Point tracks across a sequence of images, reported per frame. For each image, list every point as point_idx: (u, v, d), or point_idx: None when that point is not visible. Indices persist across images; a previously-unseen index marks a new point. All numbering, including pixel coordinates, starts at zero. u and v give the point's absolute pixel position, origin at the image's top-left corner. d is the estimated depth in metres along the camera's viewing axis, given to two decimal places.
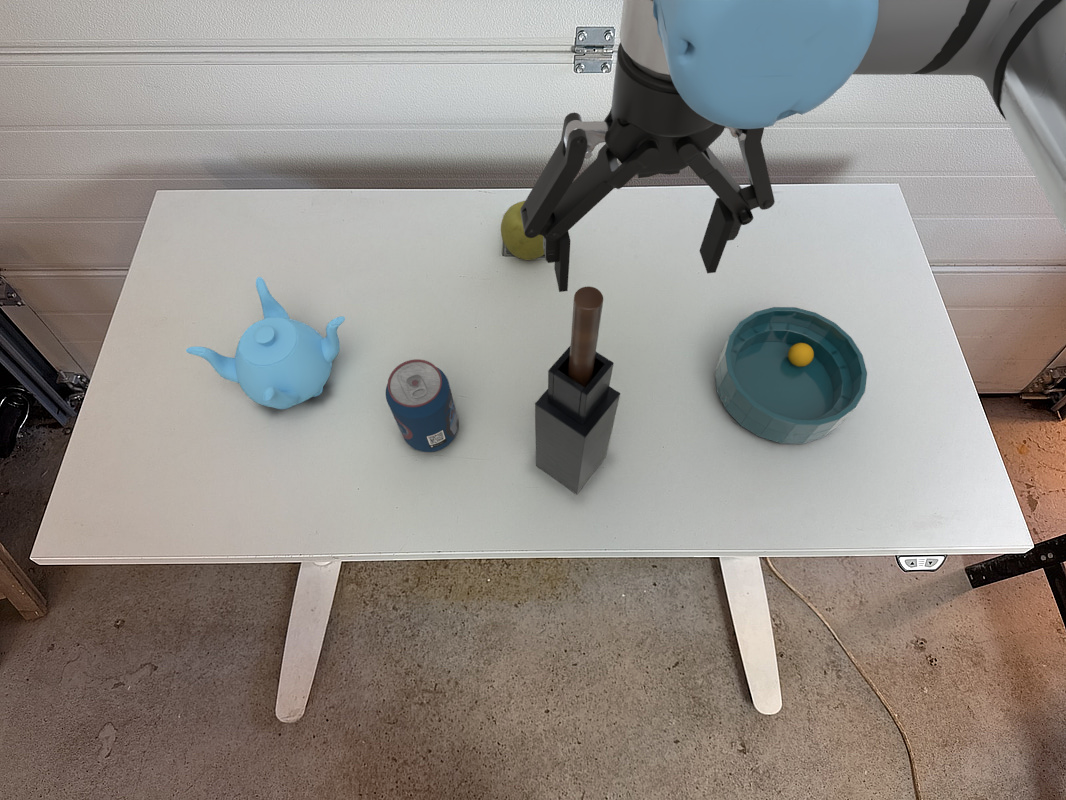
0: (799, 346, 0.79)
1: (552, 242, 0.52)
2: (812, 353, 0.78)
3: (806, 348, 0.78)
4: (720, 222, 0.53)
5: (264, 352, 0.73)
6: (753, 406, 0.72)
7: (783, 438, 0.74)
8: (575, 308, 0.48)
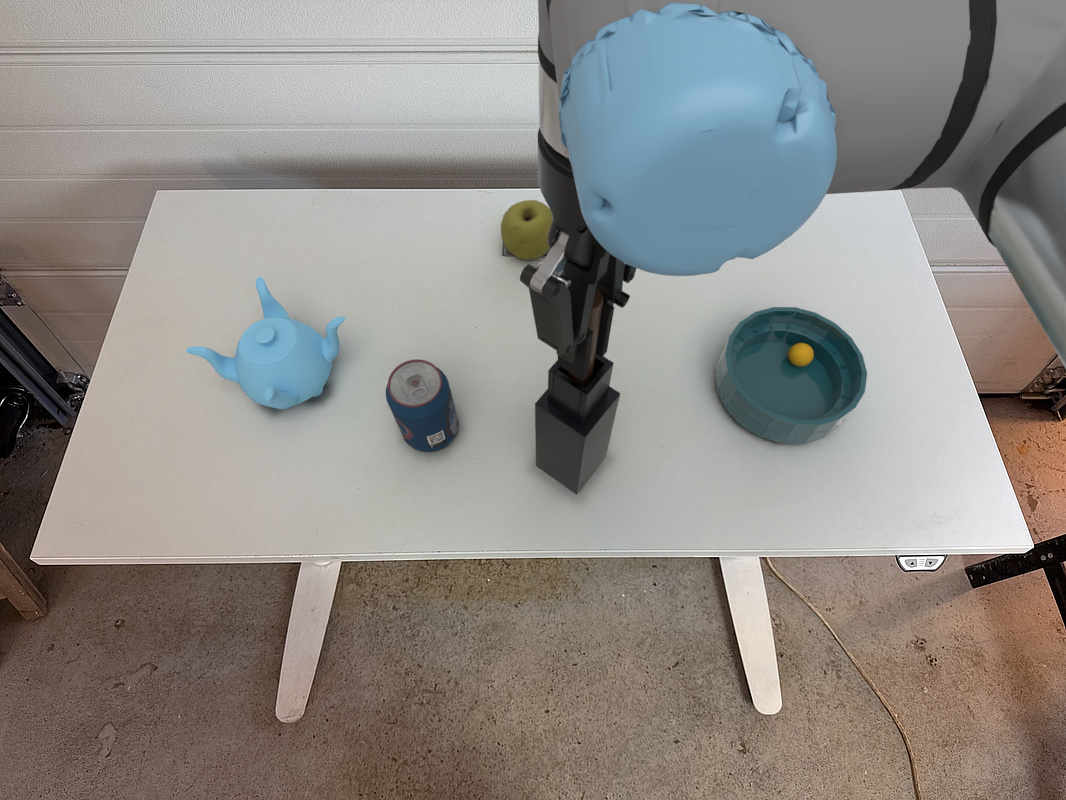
0: (799, 346, 0.79)
1: (576, 343, 0.49)
2: (812, 353, 0.78)
3: (806, 348, 0.78)
4: None
5: (264, 352, 0.73)
6: (753, 406, 0.72)
7: (783, 438, 0.74)
8: None
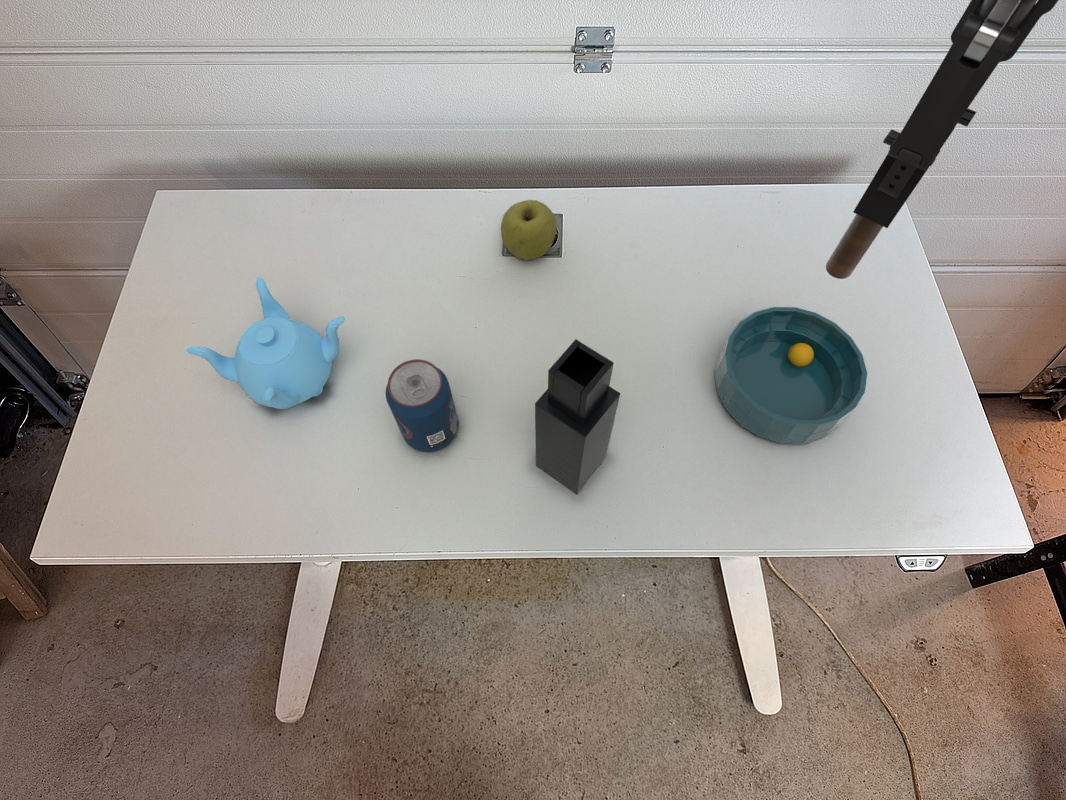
0: (799, 346, 0.79)
1: None
2: (812, 353, 0.78)
3: (806, 348, 0.78)
4: None
5: (264, 352, 0.73)
6: (753, 406, 0.72)
7: (783, 438, 0.74)
8: None
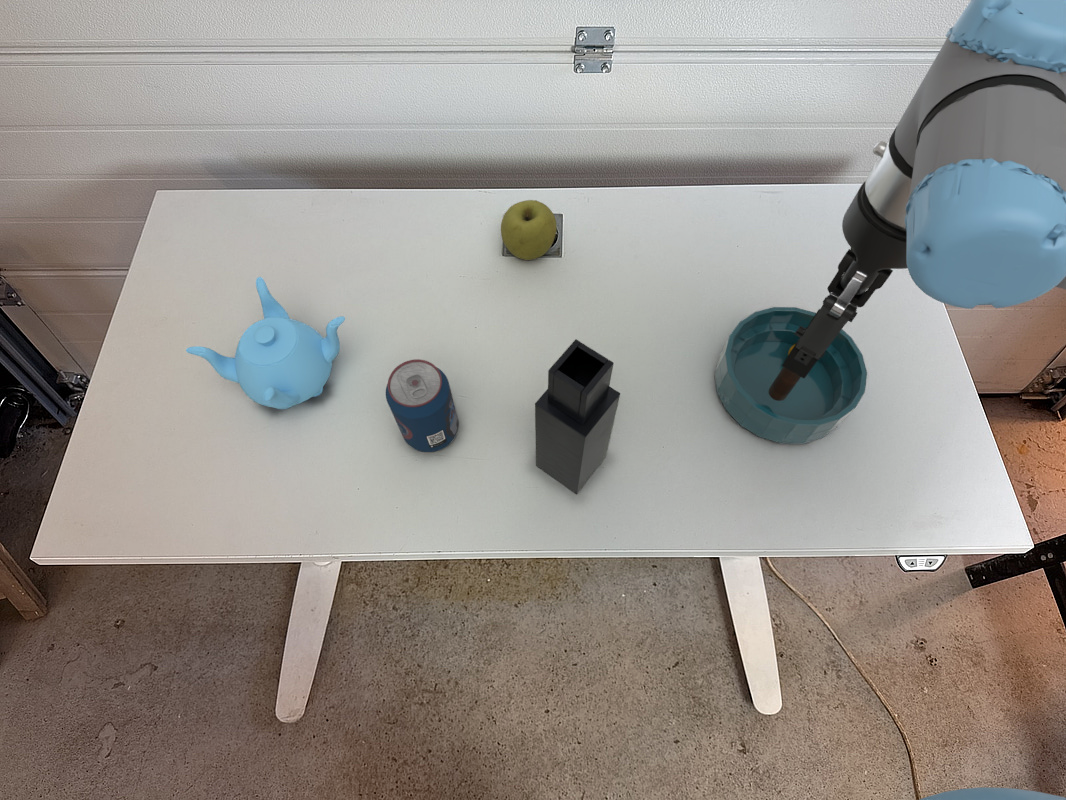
0: None
1: None
2: None
3: None
4: None
5: (264, 352, 0.73)
6: (753, 406, 0.72)
7: (783, 438, 0.74)
8: None
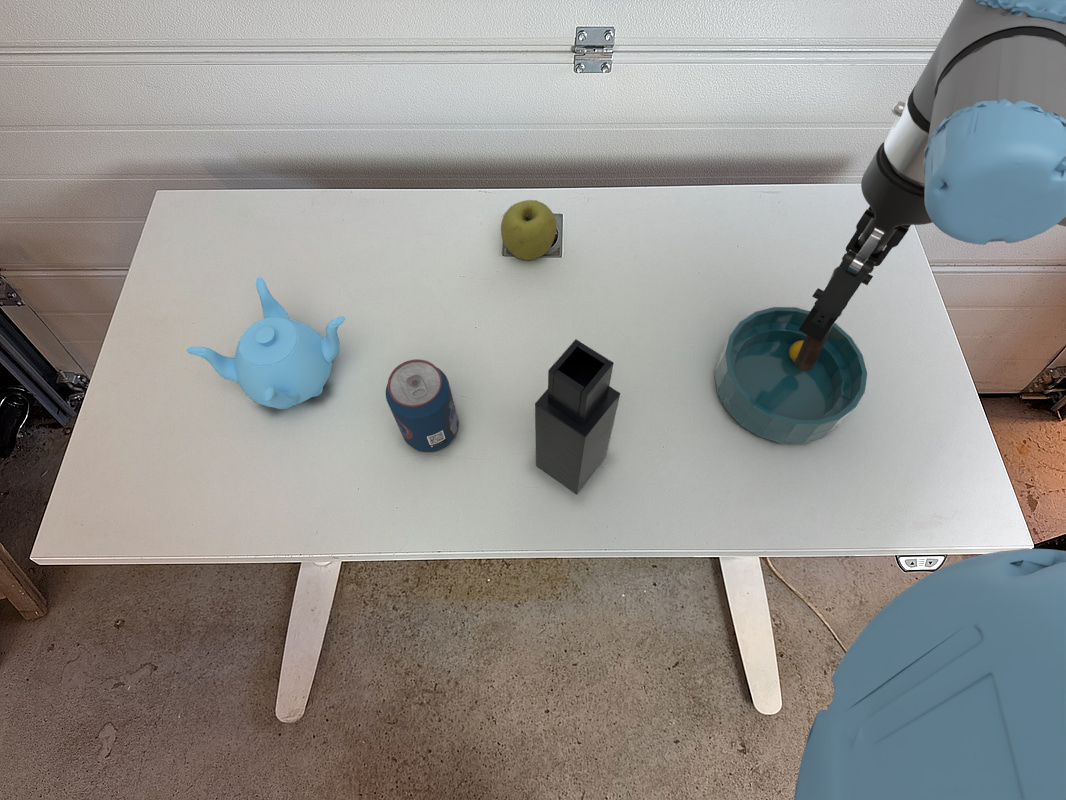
0: (801, 341, 0.79)
1: None
2: None
3: None
4: None
5: (264, 352, 0.73)
6: (753, 406, 0.72)
7: (783, 438, 0.74)
8: None
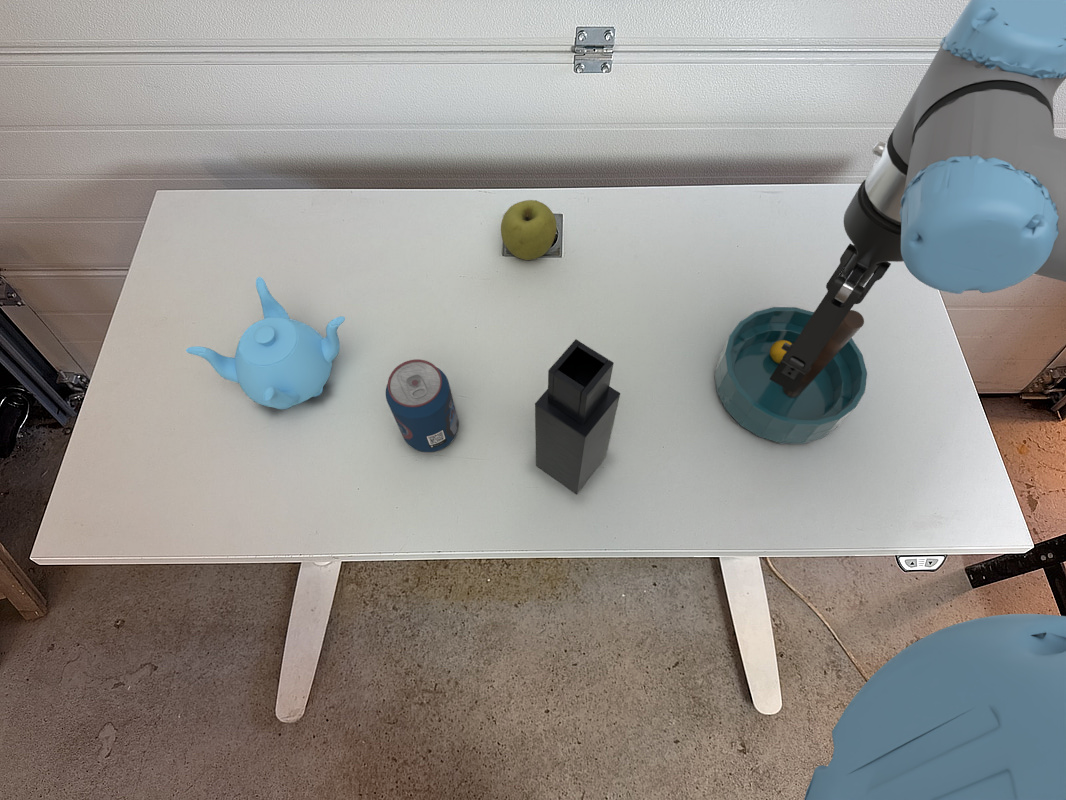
0: None
1: None
2: (778, 348, 0.79)
3: (773, 345, 0.80)
4: None
5: (264, 352, 0.73)
6: (753, 406, 0.72)
7: (783, 438, 0.74)
8: None
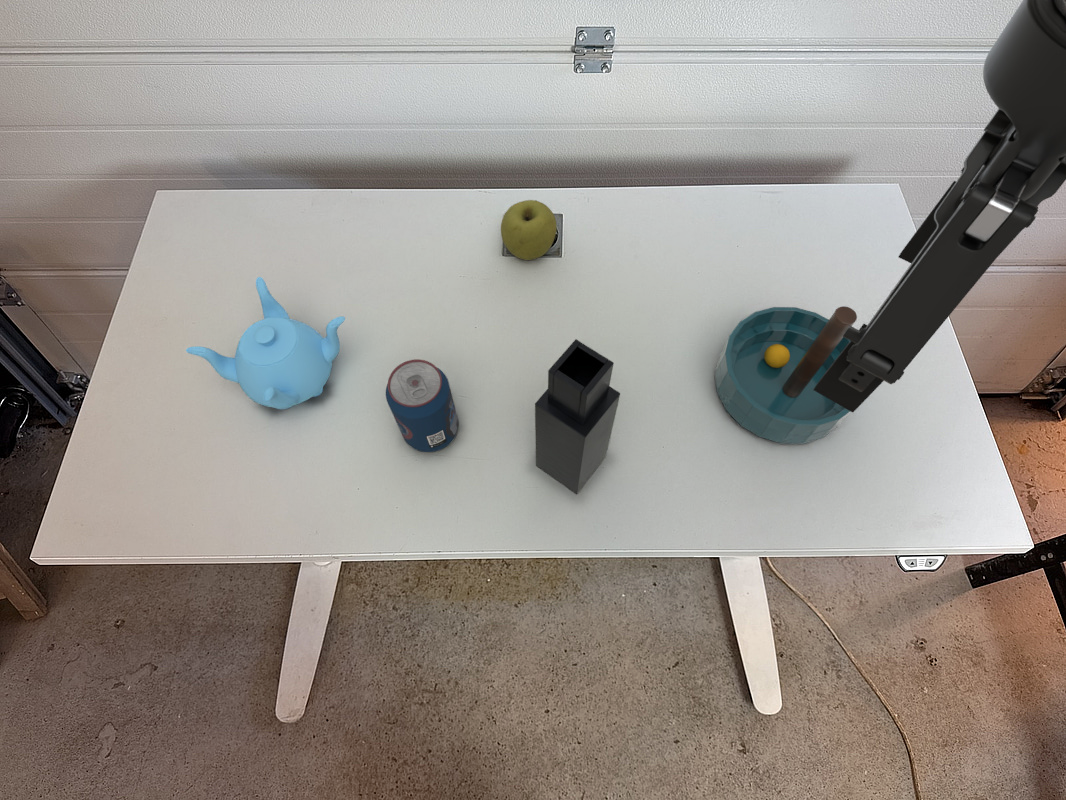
0: None
1: None
2: (767, 357, 0.79)
3: (765, 352, 0.80)
4: None
5: (264, 352, 0.73)
6: (753, 406, 0.72)
7: (783, 438, 0.74)
8: (833, 319, 0.65)
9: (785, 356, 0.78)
